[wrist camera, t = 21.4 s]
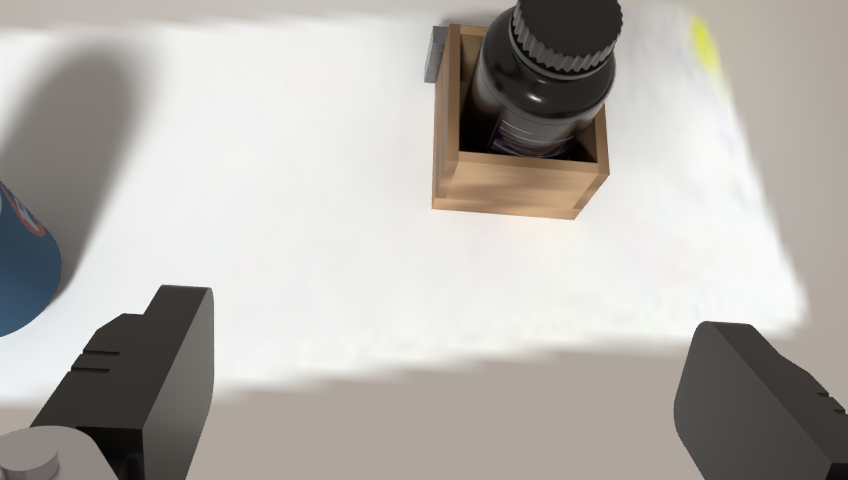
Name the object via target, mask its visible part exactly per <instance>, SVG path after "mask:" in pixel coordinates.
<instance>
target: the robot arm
mask: <svg viewBox="0 0 848 480" xmlns="http://www.w3.org/2000/svg"><path fill="white" fill-rule="evenodd" d="M213 384H214V299H213V292H212V289H211V288H208V287H192V286H177V285H161V286H160V288H159V289H158V291H157V293H156V294H155V296H154V298H153V299H152V301H151V303H150V304H149V306H148V308H147V309H146V311H145V313H144V314H143V315H142V314H126V313H123V314H121V315H120V316H118V317H117V318H115V319H113V320H112V321H110V322H109V323H107V324H105V325H104V326H102V327H101V328H99V329H98V330H97V331H96V332H95V333H94V335H93V336H92V338H91V339H90V341H89V342H88V344H87V345H86V346H85V348H84V349H83V354H80V355H79V356H78V358H77V359H76V361H75V362H74V364H73V365H72V367H71V371H70V372H69V371H68V372H67V374H66V375H65V377H64V378H63V379H62V381H61V382H60V384H59V385H58V387H57V388H56V390H55V391H54V392H53V394H52V395H51V397H50V398H49V400H48V401H47V402H46V404H45V405H44V407H43V408H42V410H41V411H40V413H39V414H38V416H37V417H36V418H35V420H34V421H33V423H32V424H31V426H30V427H29V428H25V429H21V430H18V431H14V432H11V433H8V434H5V435H3V436H0V480H185V479H186V476H187V473H188V470H189V467H190V465H191V462H192V459H193V456H194V453H195V450H196V447H197V444H198V441H199V438H200V436H201V433H202V430H203V427H204V424H205V421H206V418H207V415H208V412H209V409H210V404H211V399H212V393H213ZM674 421H675V426H676V430H677V433H678V435H679V437H680V439H681V441H682V442H683V444H684V446H685V447H686V449H687V450H688V452H689V454H690V456H691V457H692V459H693V461H694V462H695V464H696V466H697V467H698V469H699V471H700V472H701V474H702V476H703V477H704V479H705V480H848V414H845V409H844V408H843V407H842V406H841V405H840V404H839V403H838V402H837V401H836V400H835V399H834V398H833V397H829V393H828V392H827V391H826V390H825V389H824V388H823V387H822V386H821V385H820V384H819V383H818V382H817V381H816V380H815V379H814V377H813V376H812V375H811V374H809V373H808V372H807V371H805V370H804V369H802V368H800V367H799V366H797V365H796V364H794V363H792V362H791V361H789V360H788V359H786V358H785V357H783V356H781V355H780V354H779V353H778V352H777V351H776V350H775V349H774V348H773V347H772V346H771V345H770V343H769V342H768V341H767V340H766V339H765V338H764V337H763V336H762V335H761V334H760V333H759V332H758V331H757V330H756V329H755V328H754V327H753V326H752V325H750V324H742V323H727V322H712V321H704V322H702V323H700V324H699V325H698V327H697V328H696V330H695V332H694V335H693V338H692V342H691V345H690V349H689V352H688V356H687V359H686V362H685V366H684V369H683V373H682V376H681V380H680V383H679V387H678V390H677V393H676V397H675V402H674Z"/></svg>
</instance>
